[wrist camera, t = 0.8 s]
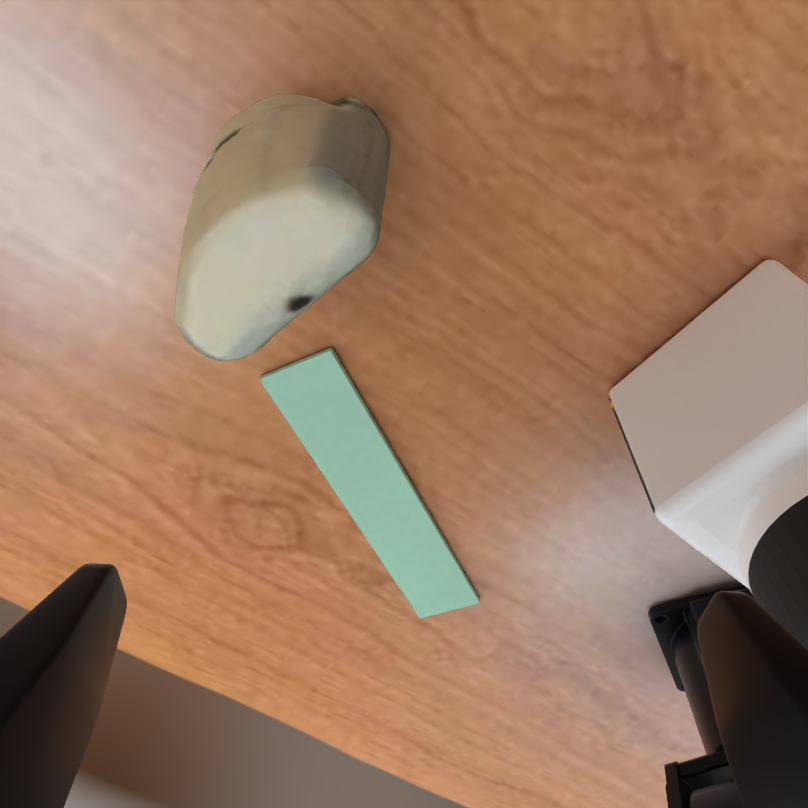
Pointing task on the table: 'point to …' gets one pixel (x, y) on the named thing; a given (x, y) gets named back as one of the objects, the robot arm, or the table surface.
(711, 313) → the security camera
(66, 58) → the table surface
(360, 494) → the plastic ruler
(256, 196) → the beige rounded chunk
